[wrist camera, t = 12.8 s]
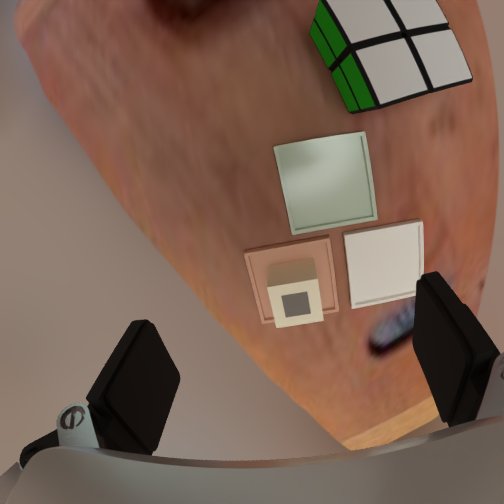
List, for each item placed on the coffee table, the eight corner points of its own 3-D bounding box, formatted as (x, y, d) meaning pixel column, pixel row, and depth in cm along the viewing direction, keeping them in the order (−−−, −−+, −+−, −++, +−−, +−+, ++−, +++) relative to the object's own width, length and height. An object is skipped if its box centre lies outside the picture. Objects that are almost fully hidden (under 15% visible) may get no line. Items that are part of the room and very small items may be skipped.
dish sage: (273, 146, 30) (273, 146, 29) (362, 131, 29) (364, 131, 28) (291, 231, 34) (292, 235, 33) (374, 217, 32) (377, 219, 31)
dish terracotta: (244, 250, 35) (243, 253, 34) (328, 235, 33) (329, 238, 33) (262, 319, 38) (262, 323, 37) (337, 306, 37) (338, 311, 36)
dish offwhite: (342, 232, 33) (344, 235, 32) (419, 218, 32) (422, 221, 31) (350, 304, 37) (351, 308, 36) (419, 289, 35) (422, 293, 34)
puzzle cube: (427, 89, 26) (476, 81, 17) (349, 115, 28) (378, 110, 19) (388, 9, 23) (423, -25, 14) (307, 31, 25) (317, -6, 16)
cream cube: (268, 265, 35) (266, 287, 30) (313, 257, 34) (317, 279, 30) (277, 303, 37) (276, 329, 32) (319, 297, 36) (323, 321, 31)
